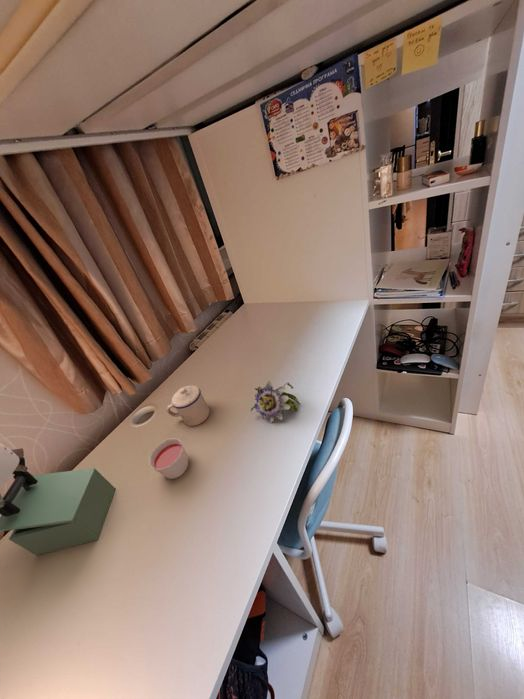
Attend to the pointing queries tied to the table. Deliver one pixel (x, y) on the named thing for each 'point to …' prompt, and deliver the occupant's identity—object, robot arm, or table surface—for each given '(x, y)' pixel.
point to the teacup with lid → (189, 405)
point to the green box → (71, 523)
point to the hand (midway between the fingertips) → (22, 497)
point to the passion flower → (273, 401)
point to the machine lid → (46, 499)
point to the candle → (169, 458)
